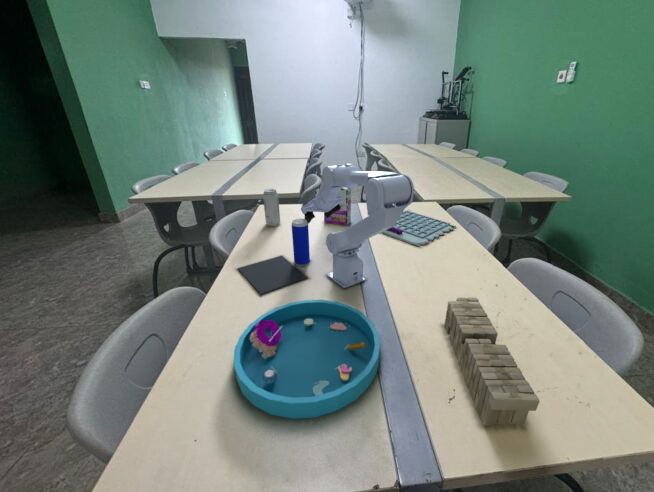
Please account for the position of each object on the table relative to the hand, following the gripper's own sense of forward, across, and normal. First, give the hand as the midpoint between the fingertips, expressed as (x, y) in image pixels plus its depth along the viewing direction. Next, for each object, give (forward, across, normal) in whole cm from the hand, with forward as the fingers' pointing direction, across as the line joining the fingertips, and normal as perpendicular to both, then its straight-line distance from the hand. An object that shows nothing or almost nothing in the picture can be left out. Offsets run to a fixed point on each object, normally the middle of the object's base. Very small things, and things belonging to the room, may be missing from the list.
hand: (316, 218), depth 108 cm
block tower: (-31, 0, +60) cm, 67 cm away
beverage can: (+8, +9, +11) cm, 16 cm away
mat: (+6, +20, +11) cm, 24 cm away
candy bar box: (+25, -22, -7) cm, 34 cm away
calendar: (+12, -45, +12) cm, 48 cm away
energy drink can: (+32, +3, -19) cm, 37 cm away
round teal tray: (-17, +27, +40) cm, 51 cm away
